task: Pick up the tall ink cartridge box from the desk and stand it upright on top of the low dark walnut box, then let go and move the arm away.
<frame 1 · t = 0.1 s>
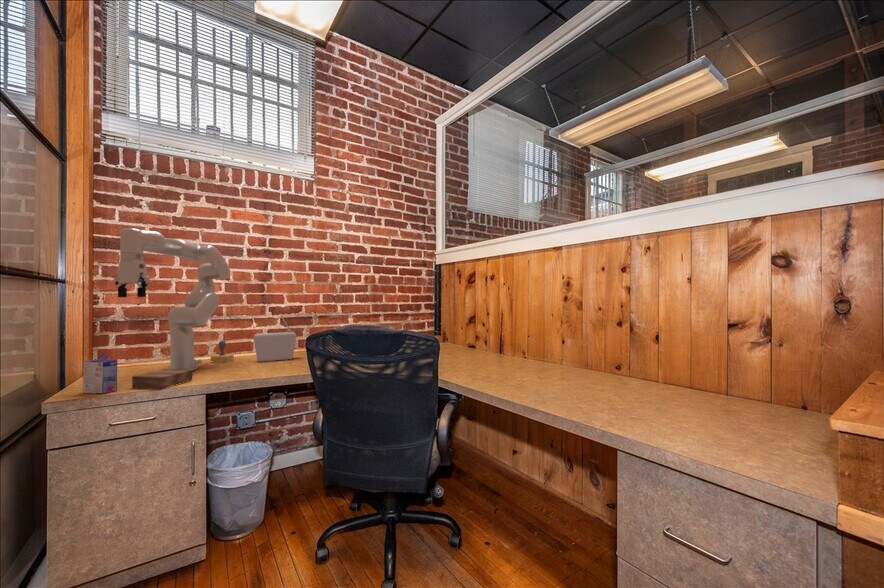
hand: (131, 297, 152), 37 cm above the table, tool pointing down, fingers open, 9 cm apart
ink cartridge box: (100, 392, 136), on the table
rounded grey case: (275, 360, 203), on the table
walnut box: (163, 385, 148), on the table
rubber stamp: (222, 362, 199), on the table
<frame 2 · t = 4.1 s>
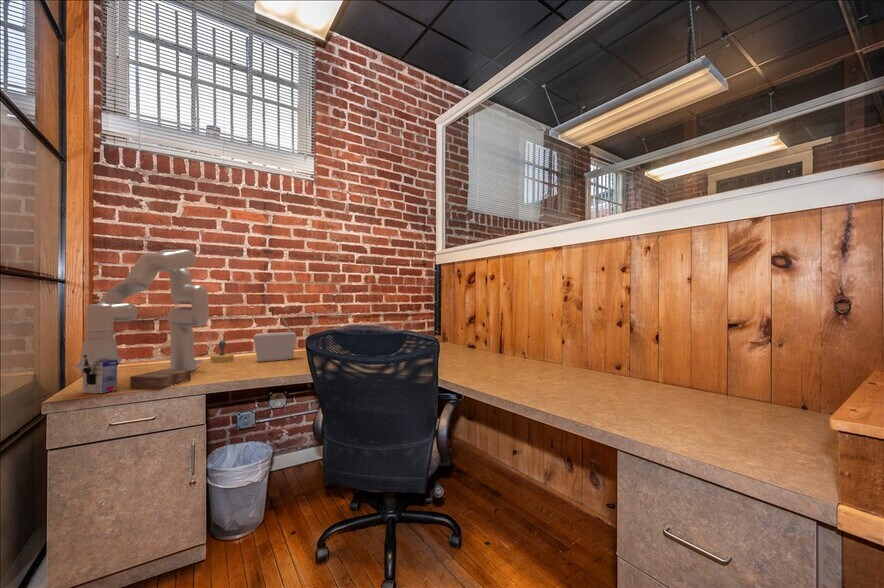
hand: (100, 381, 136), 4 cm above the table, tool pointing down, fingers closed on ink cartridge box, 5 cm apart
ink cartridge box: (100, 392, 136), on the table, touching gripper
everything else where it was.
when the fingers open (10 cm above the table, at t = 11.1 s): ink cartridge box drops 2 cm, resting on walnut box.
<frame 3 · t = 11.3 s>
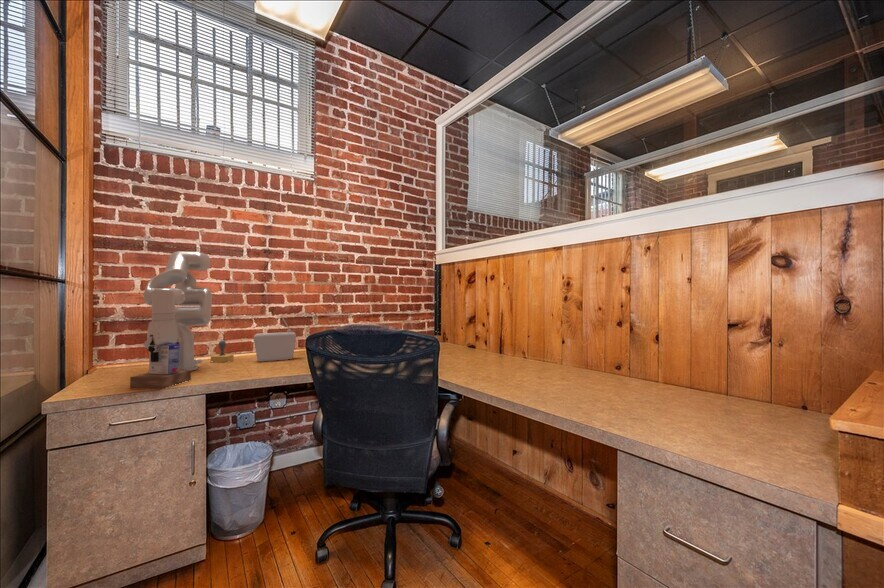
hand: (163, 359, 148), 10 cm above the table, tool pointing down, fingers open, 7 cm apart
ink cartridge box: (164, 373, 148), point 4 cm above the table, touching walnut box
walnut box: (161, 385, 148), on the table, touching ink cartridge box
everything else where it was.
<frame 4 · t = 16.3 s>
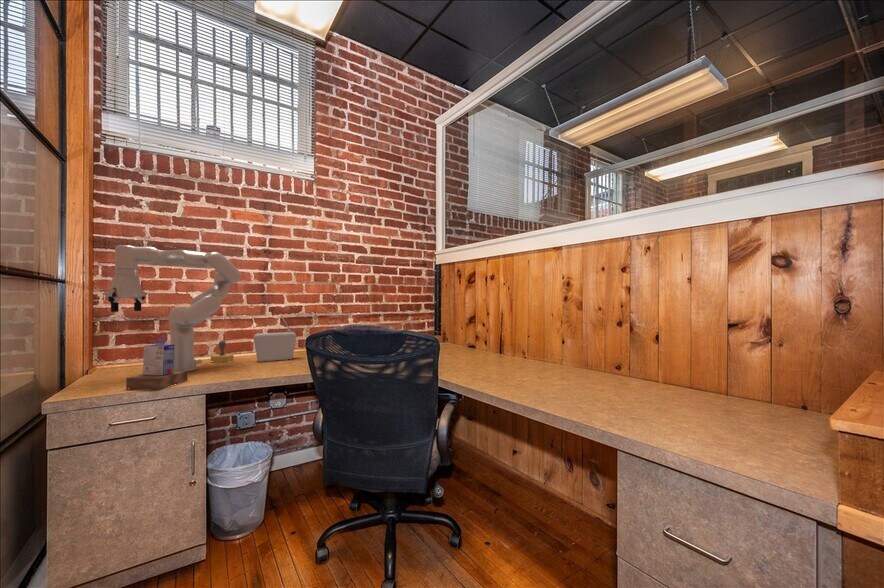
hand: (126, 311, 157), 30 cm above the table, tool pointing down, fingers open, 9 cm apart
ink cartridge box: (159, 374, 147), point 4 cm above the table, touching walnut box
walnut box: (158, 386, 146), on the table, touching ink cartridge box
everything else where it was.
at the end: ink cartridge box inside the target area on the walnut box (0.5 cm from its centre), point 4.8 cm above the walnut box's base; ink cartridge box tilted 1°; the gripper is holding nothing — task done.
